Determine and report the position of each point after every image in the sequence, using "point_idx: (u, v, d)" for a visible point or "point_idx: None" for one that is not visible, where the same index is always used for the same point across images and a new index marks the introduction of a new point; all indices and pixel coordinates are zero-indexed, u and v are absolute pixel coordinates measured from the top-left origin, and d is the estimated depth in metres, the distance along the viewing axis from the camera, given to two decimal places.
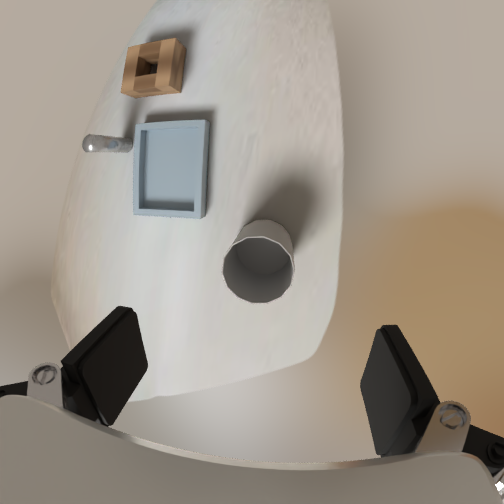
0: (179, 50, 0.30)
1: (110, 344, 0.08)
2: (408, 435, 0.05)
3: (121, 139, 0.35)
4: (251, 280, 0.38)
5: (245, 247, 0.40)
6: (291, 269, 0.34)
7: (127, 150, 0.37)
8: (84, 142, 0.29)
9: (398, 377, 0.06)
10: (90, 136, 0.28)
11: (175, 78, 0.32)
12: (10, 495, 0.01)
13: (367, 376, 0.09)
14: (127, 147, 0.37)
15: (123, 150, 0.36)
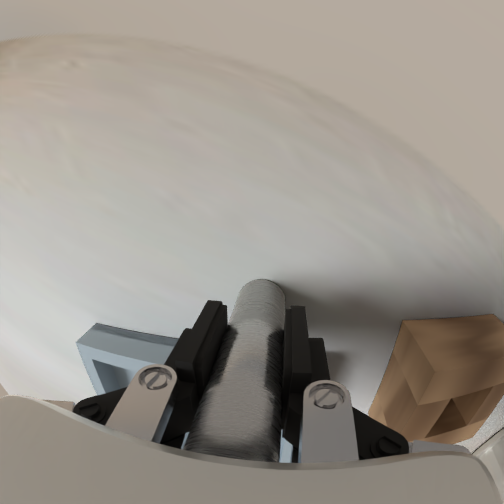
0: None
1: (215, 338, 0.09)
2: (287, 408, 0.07)
3: None
4: None
5: None
6: None
7: None
8: None
9: (284, 351, 0.08)
10: None
11: None
12: (10, 495, 0.01)
13: None
14: None
15: None
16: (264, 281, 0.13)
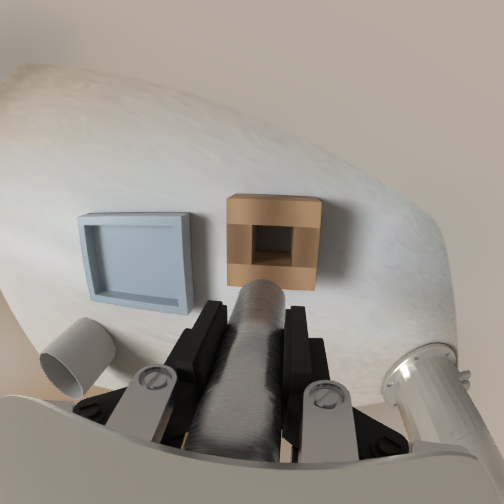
0: None
1: (215, 338, 0.09)
2: (287, 408, 0.07)
3: None
4: None
5: None
6: (77, 384, 0.31)
7: None
8: None
9: (284, 351, 0.08)
10: None
11: None
12: (10, 495, 0.01)
13: None
14: None
15: None
16: (264, 280, 0.13)
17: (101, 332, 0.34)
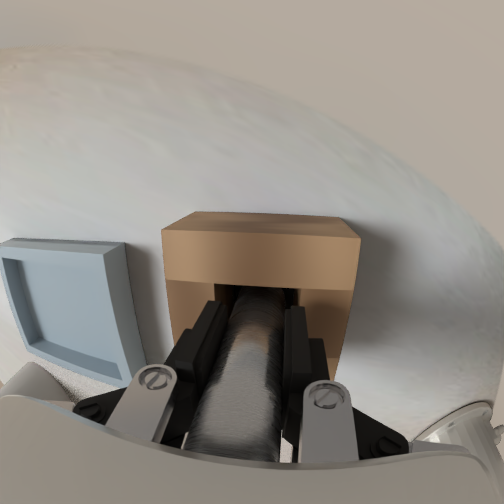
0: None
1: (215, 338, 0.09)
2: (287, 408, 0.07)
3: None
4: None
5: None
6: None
7: None
8: None
9: (284, 351, 0.08)
10: None
11: None
12: (10, 495, 0.01)
13: None
14: None
15: None
16: None
17: (50, 383, 0.22)
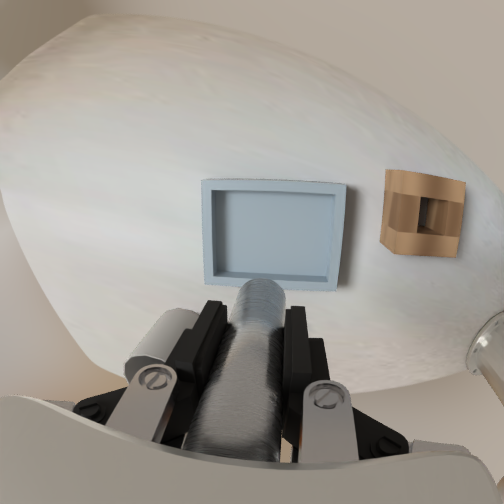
0: None
1: (215, 338, 0.09)
2: (287, 408, 0.07)
3: None
4: None
5: None
6: None
7: None
8: None
9: (285, 351, 0.08)
10: None
11: None
12: (10, 495, 0.01)
13: None
14: None
15: None
16: (264, 279, 0.13)
17: None
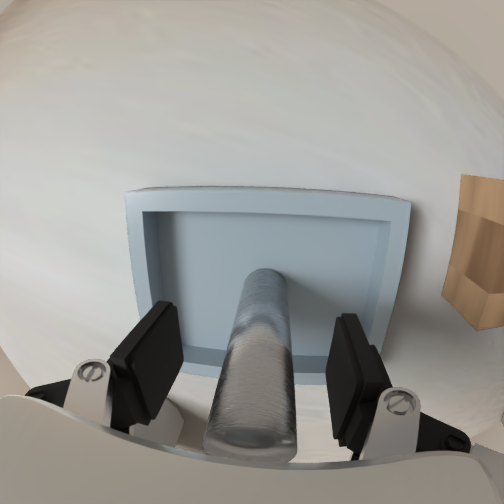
0: None
1: (156, 337, 0.08)
2: (356, 418, 0.06)
3: None
4: None
5: None
6: None
7: None
8: (258, 436, 0.05)
9: (348, 361, 0.07)
10: (283, 457, 0.05)
11: None
12: (10, 495, 0.01)
13: (329, 363, 0.10)
14: None
15: None
16: (267, 269, 0.14)
17: None
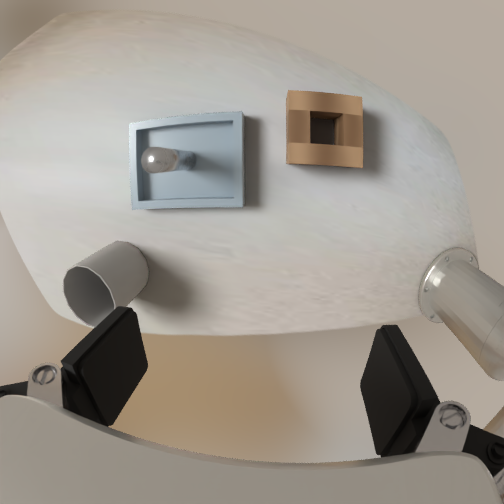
0: (345, 166, 0.28)
1: (110, 344, 0.08)
2: (408, 435, 0.05)
3: (186, 167, 0.28)
4: (88, 269, 0.33)
5: None
6: (103, 314, 0.32)
7: None
8: (154, 150, 0.21)
9: (398, 377, 0.06)
10: (162, 162, 0.22)
11: None
12: (10, 495, 0.01)
13: (367, 376, 0.09)
14: None
15: None
16: None
17: (135, 252, 0.35)
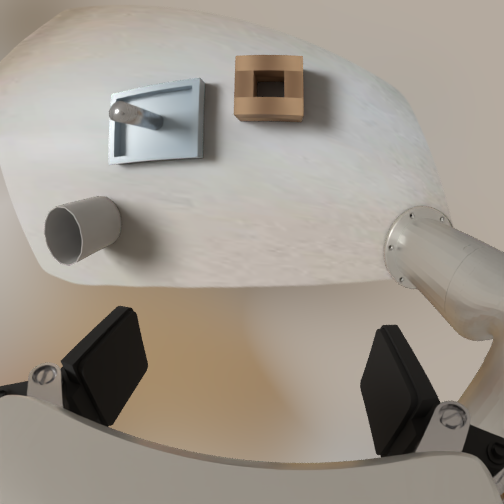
0: (290, 118, 0.30)
1: (110, 344, 0.08)
2: (408, 435, 0.05)
3: (151, 124, 0.31)
4: (70, 219, 0.36)
5: None
6: (76, 257, 0.34)
7: None
8: (119, 103, 0.24)
9: (398, 377, 0.06)
10: (123, 111, 0.24)
11: (250, 117, 0.30)
12: (10, 495, 0.01)
13: (367, 376, 0.09)
14: None
15: None
16: None
17: (110, 204, 0.38)
